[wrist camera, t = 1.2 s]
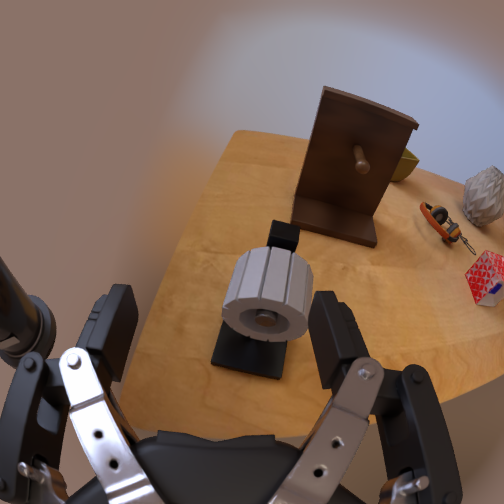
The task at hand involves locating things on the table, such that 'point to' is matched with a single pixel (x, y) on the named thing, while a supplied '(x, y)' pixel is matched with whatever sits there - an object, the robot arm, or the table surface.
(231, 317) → the grey faceted tube
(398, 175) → the flower pot
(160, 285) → the table surface
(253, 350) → the holder
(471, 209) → the vase
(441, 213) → the headphones
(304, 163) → the rack
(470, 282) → the red patterned cube
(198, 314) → the table surface
